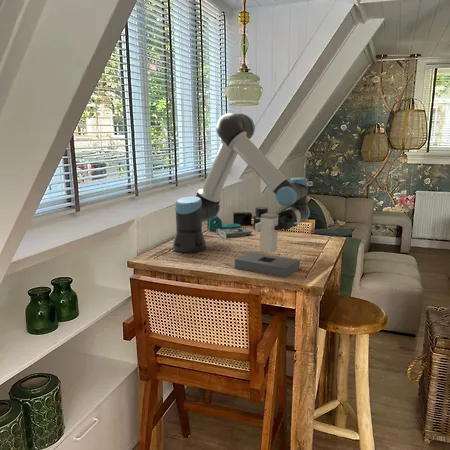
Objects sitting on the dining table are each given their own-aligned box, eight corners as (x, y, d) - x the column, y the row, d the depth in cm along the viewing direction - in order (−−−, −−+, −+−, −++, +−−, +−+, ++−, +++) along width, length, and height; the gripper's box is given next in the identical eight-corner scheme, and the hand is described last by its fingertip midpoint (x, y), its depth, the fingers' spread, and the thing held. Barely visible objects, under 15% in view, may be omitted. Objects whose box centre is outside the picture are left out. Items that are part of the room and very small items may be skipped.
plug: (259, 250, 166) (260, 215, 163) (265, 247, 170) (266, 212, 167) (271, 252, 163) (272, 216, 160) (276, 249, 167) (278, 214, 164)
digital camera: (233, 226, 246) (233, 214, 245) (233, 224, 251) (233, 212, 250) (251, 225, 246) (252, 213, 245) (251, 223, 252) (251, 212, 250)
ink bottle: (270, 231, 233) (270, 209, 230) (253, 231, 233) (254, 209, 230) (268, 227, 242) (269, 206, 240) (253, 227, 243) (253, 206, 240)
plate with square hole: (234, 270, 169) (234, 259, 168) (249, 262, 179) (249, 251, 178) (286, 280, 158) (286, 268, 157) (299, 271, 168) (299, 260, 167)
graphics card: (224, 233, 215) (215, 228, 226) (224, 241, 216) (215, 235, 227) (254, 231, 221) (245, 226, 232) (254, 238, 222) (245, 232, 233)
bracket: (209, 231, 233) (209, 217, 232) (207, 229, 240) (207, 215, 238) (241, 229, 237) (241, 215, 236) (238, 227, 244) (238, 213, 242)
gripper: (308, 229, 175) (284, 242, 156) (268, 224, 185) (241, 235, 165) (309, 211, 174) (285, 221, 154) (269, 206, 183) (241, 216, 164)
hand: (262, 228), depth 160 cm, fingers closed on plug, 5 cm apart
